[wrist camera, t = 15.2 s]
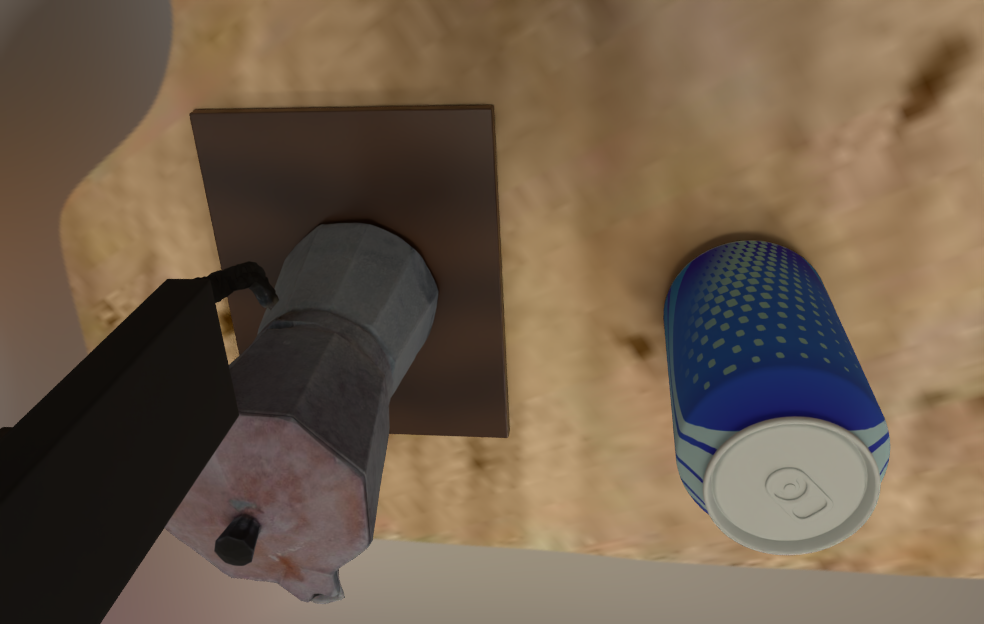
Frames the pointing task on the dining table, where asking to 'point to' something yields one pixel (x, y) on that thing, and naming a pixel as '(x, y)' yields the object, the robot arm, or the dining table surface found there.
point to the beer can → (770, 401)
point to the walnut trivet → (382, 203)
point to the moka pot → (311, 410)
